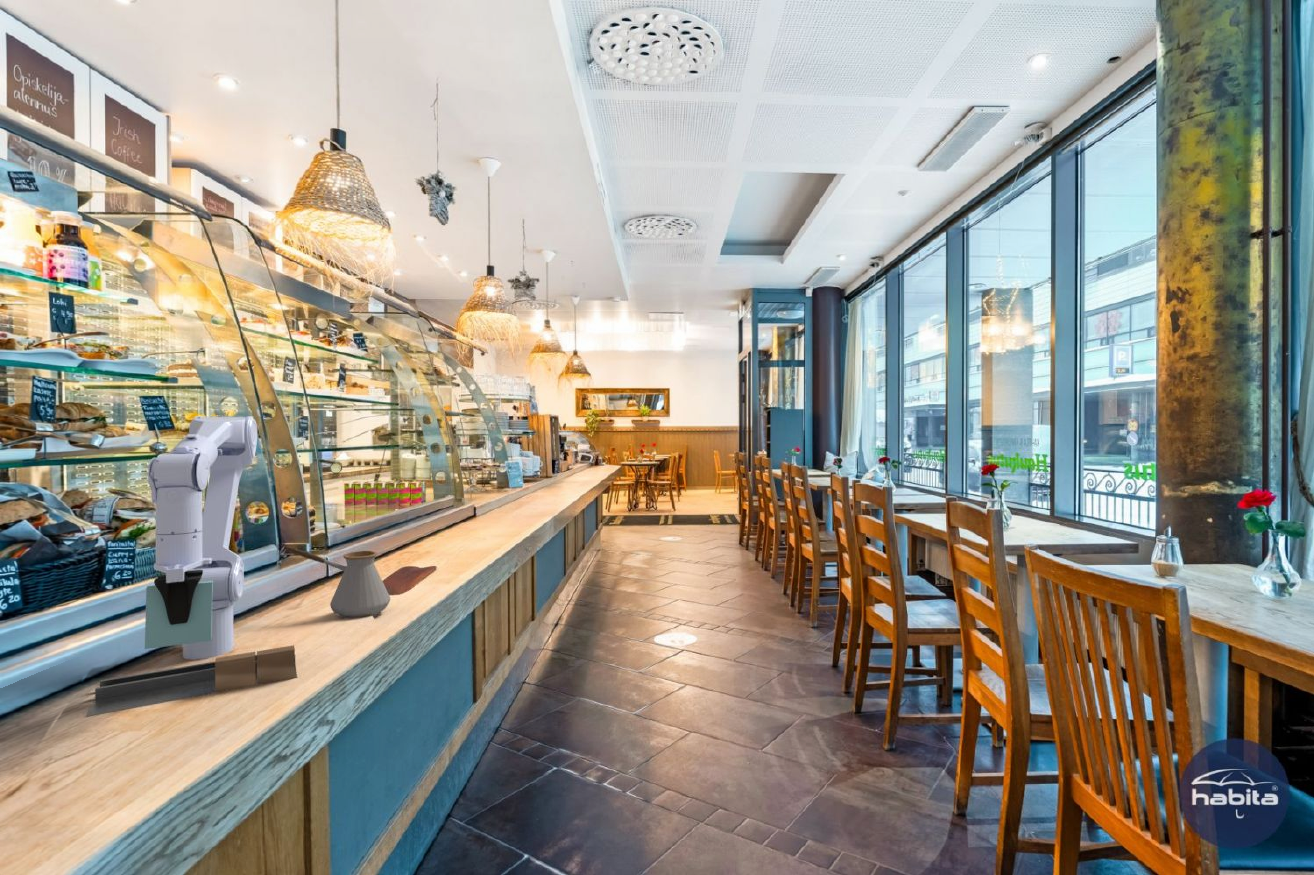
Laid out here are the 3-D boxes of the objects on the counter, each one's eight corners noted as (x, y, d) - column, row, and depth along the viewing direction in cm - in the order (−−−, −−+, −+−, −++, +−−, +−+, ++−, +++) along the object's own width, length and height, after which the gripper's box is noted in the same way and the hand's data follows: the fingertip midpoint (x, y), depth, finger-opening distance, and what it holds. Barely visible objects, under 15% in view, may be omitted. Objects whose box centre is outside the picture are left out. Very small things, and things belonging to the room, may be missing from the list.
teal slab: (146, 646, 95) (147, 585, 95) (211, 638, 99) (212, 580, 100) (144, 649, 94) (146, 587, 94) (210, 640, 98) (212, 582, 98)
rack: (103, 692, 96) (102, 676, 96) (294, 660, 109) (294, 645, 109) (85, 723, 86) (85, 705, 86) (297, 683, 99) (297, 668, 99)
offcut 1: (216, 687, 96) (215, 657, 95) (255, 680, 98) (255, 651, 98) (215, 692, 94) (215, 662, 94) (255, 684, 96) (255, 655, 96)
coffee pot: (397, 605, 140) (396, 538, 139) (381, 622, 129) (380, 549, 128) (294, 608, 137) (293, 539, 137) (268, 626, 126) (267, 551, 125)
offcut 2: (257, 679, 98) (256, 651, 98) (294, 673, 101) (294, 645, 101) (257, 684, 97) (256, 655, 96) (295, 677, 99) (294, 649, 99)
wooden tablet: (402, 570, 174) (402, 564, 174) (439, 570, 174) (439, 564, 174) (359, 598, 147) (359, 591, 147) (402, 598, 148) (402, 590, 148)
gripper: (209, 535, 93) (209, 628, 93) (213, 525, 105) (213, 607, 105) (147, 539, 89) (147, 637, 89) (159, 528, 101) (159, 614, 101)
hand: (179, 621), depth 97 cm, fingers closed on teal slab, 1 cm apart
